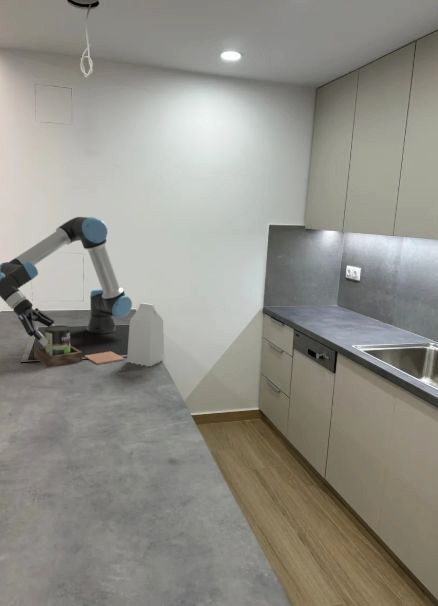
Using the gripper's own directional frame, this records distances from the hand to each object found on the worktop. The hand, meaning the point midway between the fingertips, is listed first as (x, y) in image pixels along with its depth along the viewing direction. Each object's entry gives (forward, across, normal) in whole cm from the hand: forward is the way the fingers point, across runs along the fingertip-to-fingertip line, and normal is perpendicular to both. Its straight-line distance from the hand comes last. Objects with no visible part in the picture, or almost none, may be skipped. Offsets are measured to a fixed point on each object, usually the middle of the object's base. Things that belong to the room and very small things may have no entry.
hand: (53, 340), depth 200 cm
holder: (+7, -1, -5) cm, 9 cm away
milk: (+34, -7, +21) cm, 41 cm away
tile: (+20, -7, +8) cm, 23 cm away
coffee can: (+7, -1, -5) cm, 9 cm away
